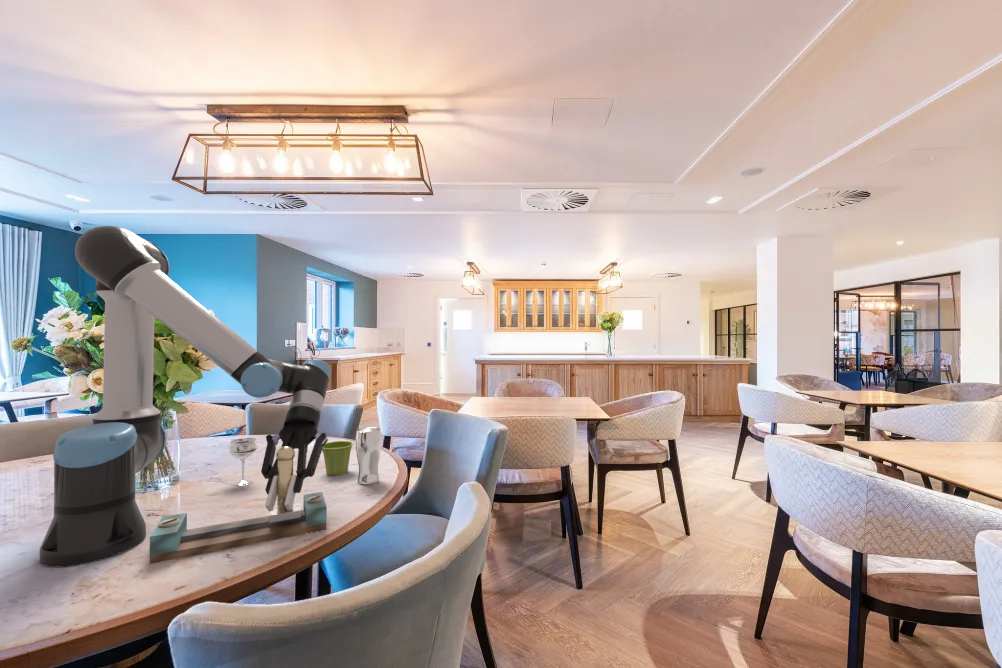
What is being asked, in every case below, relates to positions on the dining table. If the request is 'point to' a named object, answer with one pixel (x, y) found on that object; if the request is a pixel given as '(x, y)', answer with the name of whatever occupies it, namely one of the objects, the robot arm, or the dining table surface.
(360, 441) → the beer glass
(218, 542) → the rail track
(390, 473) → the dining table surface
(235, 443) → the wineglass
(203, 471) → the dining table surface
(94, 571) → the dining table surface
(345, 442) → the plant pot
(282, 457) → the knob-topped peg
